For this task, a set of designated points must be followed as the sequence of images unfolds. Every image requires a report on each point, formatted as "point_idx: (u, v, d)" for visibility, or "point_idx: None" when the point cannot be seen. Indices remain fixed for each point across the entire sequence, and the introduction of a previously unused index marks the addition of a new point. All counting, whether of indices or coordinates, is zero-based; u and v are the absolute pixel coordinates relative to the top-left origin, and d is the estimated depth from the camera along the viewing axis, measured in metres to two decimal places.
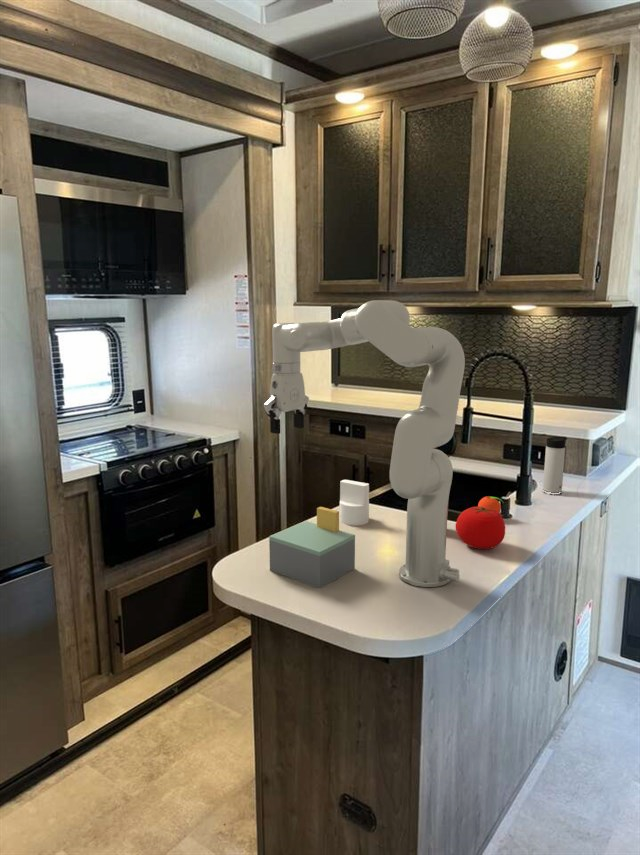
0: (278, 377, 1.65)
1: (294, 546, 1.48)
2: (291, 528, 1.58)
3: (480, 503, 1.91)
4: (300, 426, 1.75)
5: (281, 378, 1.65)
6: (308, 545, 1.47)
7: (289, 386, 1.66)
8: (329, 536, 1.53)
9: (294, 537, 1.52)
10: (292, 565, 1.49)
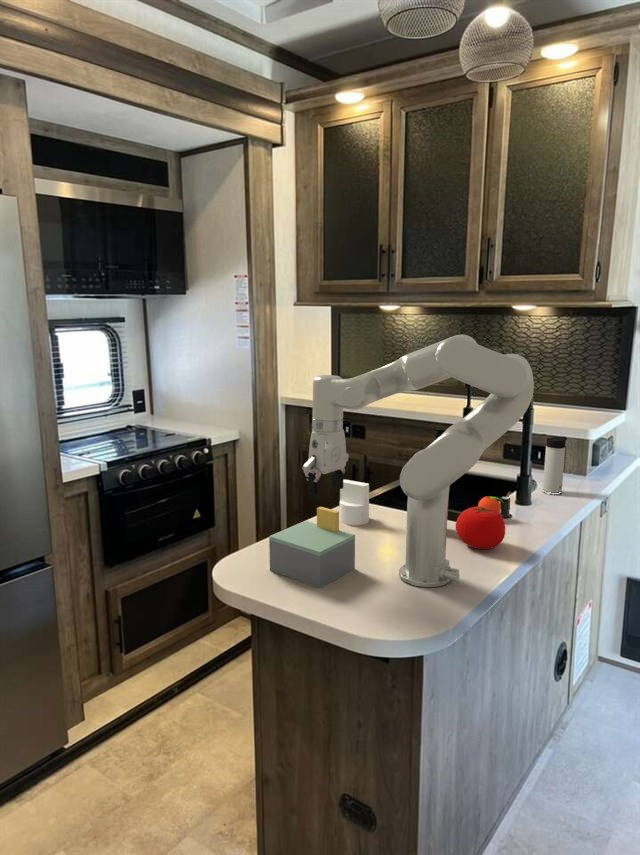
0: (319, 436, 1.49)
1: (294, 546, 1.48)
2: (291, 528, 1.58)
3: (480, 503, 1.91)
4: (339, 486, 1.59)
5: (322, 437, 1.49)
6: (308, 545, 1.47)
7: (330, 446, 1.51)
8: (329, 536, 1.53)
9: (294, 537, 1.52)
10: (292, 565, 1.49)
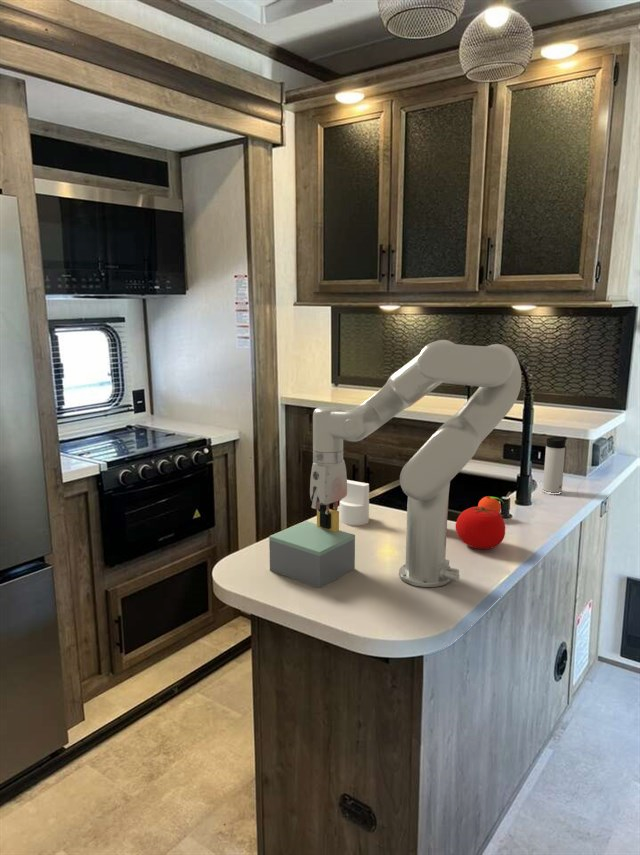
0: (320, 468, 1.51)
1: (294, 546, 1.48)
2: (291, 528, 1.58)
3: (480, 503, 1.91)
4: None
5: (323, 469, 1.50)
6: (308, 545, 1.47)
7: (331, 477, 1.52)
8: (329, 536, 1.53)
9: (294, 537, 1.52)
10: (292, 565, 1.49)
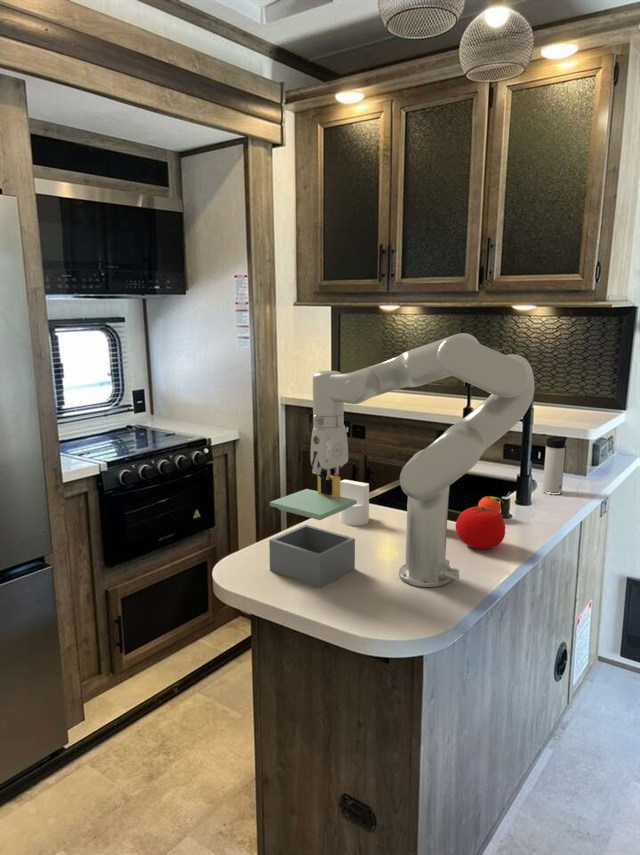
0: (320, 432, 1.49)
1: (295, 511, 1.46)
2: (292, 495, 1.56)
3: (480, 503, 1.91)
4: None
5: (323, 433, 1.49)
6: (309, 509, 1.45)
7: (332, 441, 1.50)
8: (330, 501, 1.51)
9: (295, 502, 1.50)
10: (292, 565, 1.49)
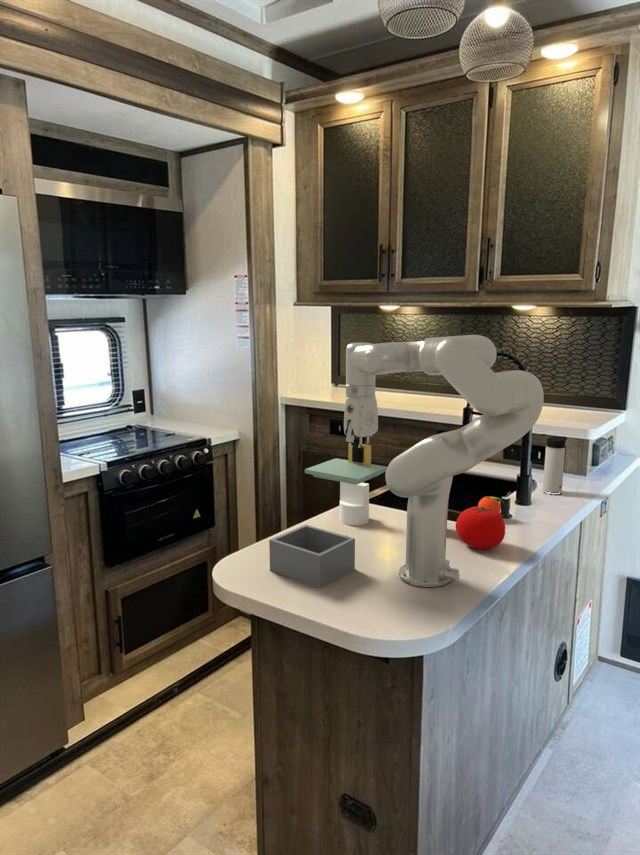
0: (354, 401, 1.54)
1: (331, 476, 1.51)
2: (324, 463, 1.61)
3: (480, 503, 1.91)
4: None
5: (358, 402, 1.54)
6: (345, 474, 1.51)
7: (365, 410, 1.56)
8: (363, 468, 1.57)
9: (329, 469, 1.55)
10: (292, 565, 1.49)
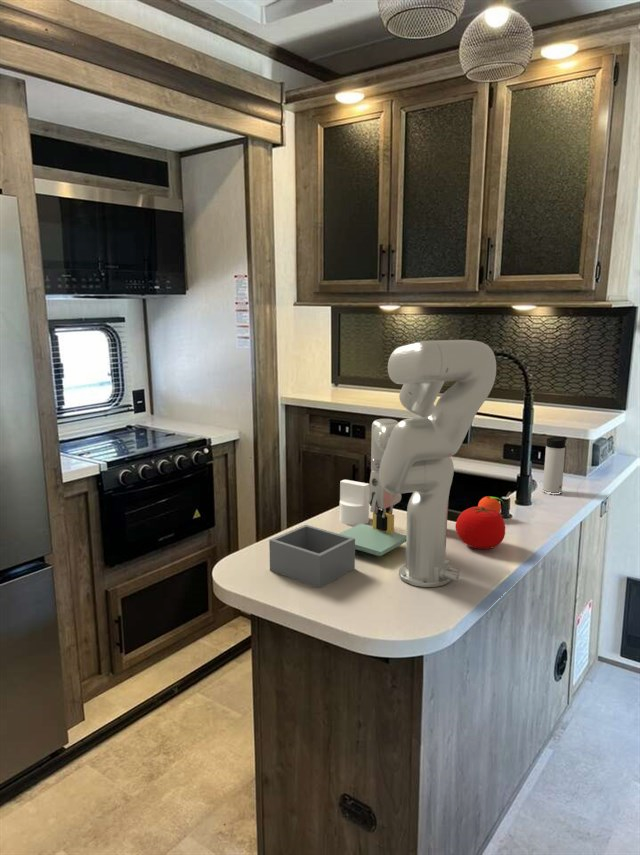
0: (379, 475, 1.65)
1: (355, 546, 1.62)
2: (349, 530, 1.72)
3: (480, 503, 1.91)
4: None
5: None
6: (369, 546, 1.61)
7: None
8: (386, 537, 1.67)
9: None
10: (292, 565, 1.49)
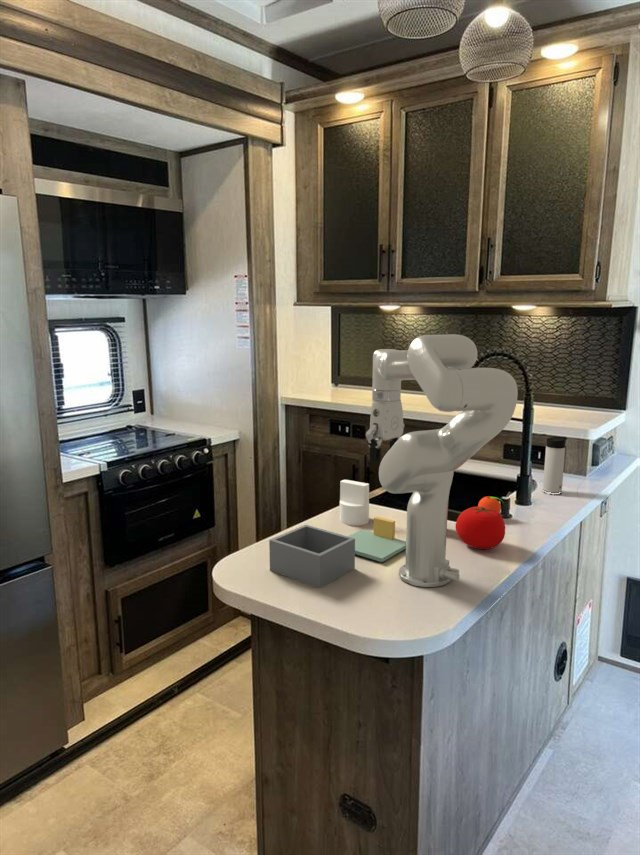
0: (380, 405, 1.61)
1: (357, 553, 1.63)
2: (350, 536, 1.73)
3: (480, 503, 1.91)
4: None
5: (383, 406, 1.61)
6: (370, 552, 1.62)
7: (390, 414, 1.62)
8: (387, 543, 1.67)
9: (355, 544, 1.67)
10: (292, 565, 1.49)
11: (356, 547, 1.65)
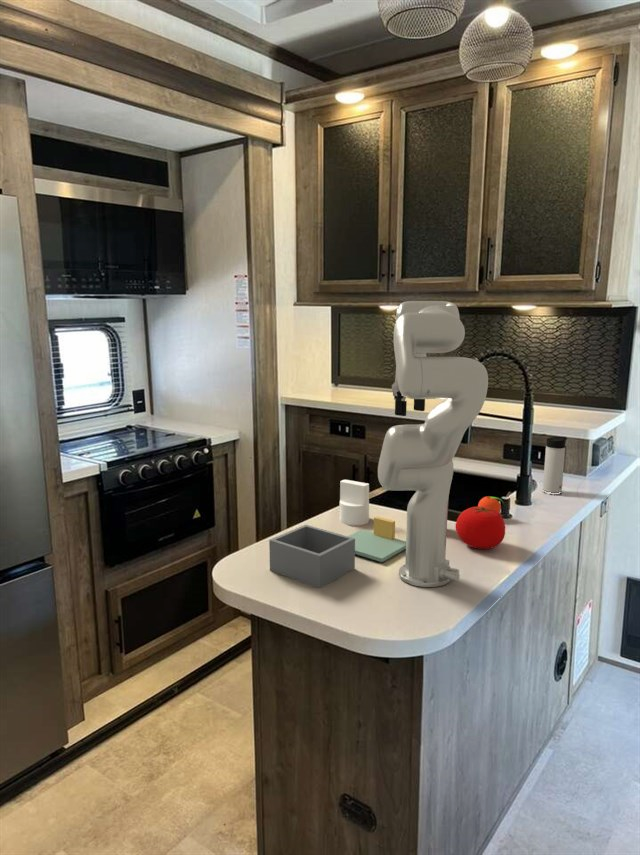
0: None
1: (357, 553, 1.63)
2: (350, 536, 1.73)
3: (480, 503, 1.91)
4: (421, 409, 1.70)
5: None
6: (370, 552, 1.62)
7: None
8: (387, 543, 1.67)
9: (355, 544, 1.67)
10: (292, 565, 1.49)
11: (356, 547, 1.65)
